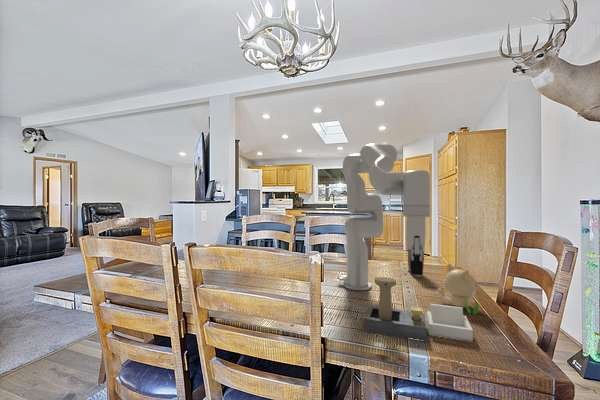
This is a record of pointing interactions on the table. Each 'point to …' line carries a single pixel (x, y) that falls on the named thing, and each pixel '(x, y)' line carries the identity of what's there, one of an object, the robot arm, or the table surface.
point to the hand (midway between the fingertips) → (416, 271)
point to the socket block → (395, 324)
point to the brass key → (416, 312)
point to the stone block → (410, 262)
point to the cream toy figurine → (460, 288)
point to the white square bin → (449, 323)
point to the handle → (385, 297)
